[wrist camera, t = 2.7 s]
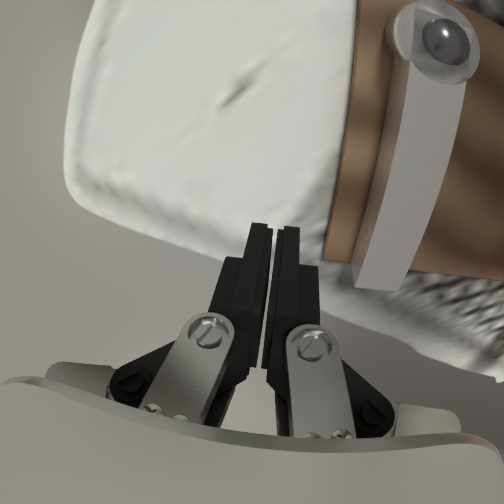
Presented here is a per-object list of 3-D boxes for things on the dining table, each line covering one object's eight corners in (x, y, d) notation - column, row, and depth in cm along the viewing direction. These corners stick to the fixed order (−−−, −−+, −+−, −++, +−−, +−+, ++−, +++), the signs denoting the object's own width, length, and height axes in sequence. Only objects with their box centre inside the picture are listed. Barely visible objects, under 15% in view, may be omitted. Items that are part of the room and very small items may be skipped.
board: (358, -25, 11) (361, -30, 10) (583, 95, 8) (591, 99, 7) (322, 250, 25) (323, 259, 24) (517, 275, 22) (521, 282, 21)
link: (386, -5, 10) (407, -16, 7) (458, 20, 10) (489, 20, 7) (342, 259, 23) (346, 294, 20) (398, 266, 23) (407, 299, 20)
